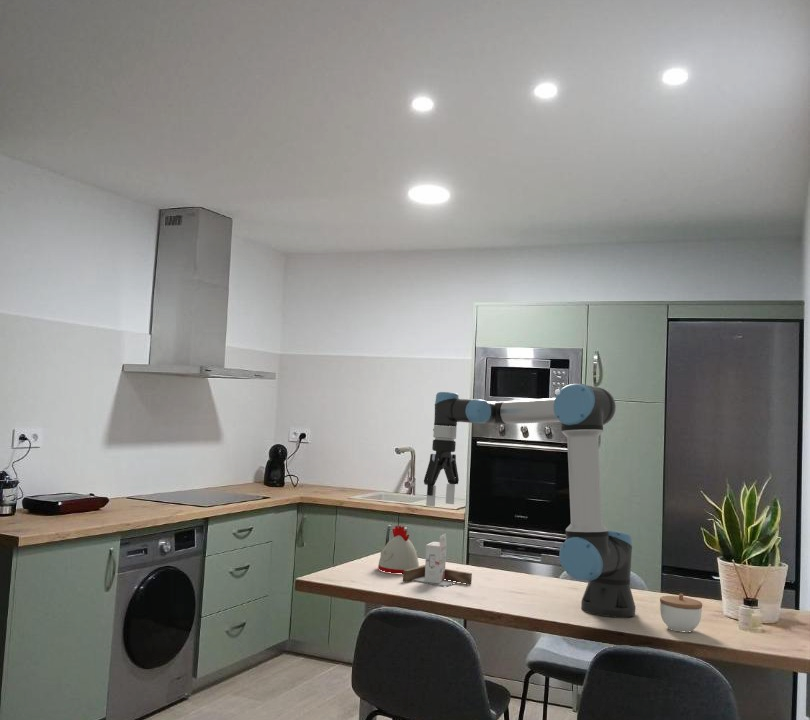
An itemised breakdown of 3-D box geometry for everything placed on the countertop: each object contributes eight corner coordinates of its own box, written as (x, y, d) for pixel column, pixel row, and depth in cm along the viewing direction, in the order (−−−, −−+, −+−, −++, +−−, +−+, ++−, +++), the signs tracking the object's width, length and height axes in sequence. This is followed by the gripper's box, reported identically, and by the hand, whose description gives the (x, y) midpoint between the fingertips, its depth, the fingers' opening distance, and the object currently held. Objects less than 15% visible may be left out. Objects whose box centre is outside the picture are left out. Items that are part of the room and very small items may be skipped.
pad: (456, 583, 245) (456, 582, 245) (445, 587, 238) (445, 585, 238) (424, 577, 251) (424, 576, 251) (412, 580, 244) (412, 579, 244)
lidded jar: (707, 631, 204) (708, 595, 205) (692, 637, 196) (693, 600, 197) (668, 622, 211) (669, 588, 212) (652, 628, 203) (653, 592, 204)
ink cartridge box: (430, 577, 249) (432, 532, 251) (445, 579, 248) (447, 533, 249) (423, 582, 241) (426, 535, 243) (438, 583, 240) (441, 536, 241)
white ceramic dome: (401, 565, 270) (404, 522, 271) (426, 573, 259) (429, 528, 260) (370, 568, 261) (373, 524, 262) (395, 576, 250) (398, 530, 251)
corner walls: (471, 584, 245) (471, 573, 245) (451, 590, 233) (452, 579, 233) (423, 575, 254) (424, 565, 254) (402, 581, 242) (403, 570, 242)
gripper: (451, 439, 261) (447, 501, 259) (415, 437, 240) (411, 505, 238) (471, 440, 258) (467, 504, 256) (436, 439, 236) (432, 508, 234)
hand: (440, 505), depth 247 cm, fingers open, 13 cm apart
